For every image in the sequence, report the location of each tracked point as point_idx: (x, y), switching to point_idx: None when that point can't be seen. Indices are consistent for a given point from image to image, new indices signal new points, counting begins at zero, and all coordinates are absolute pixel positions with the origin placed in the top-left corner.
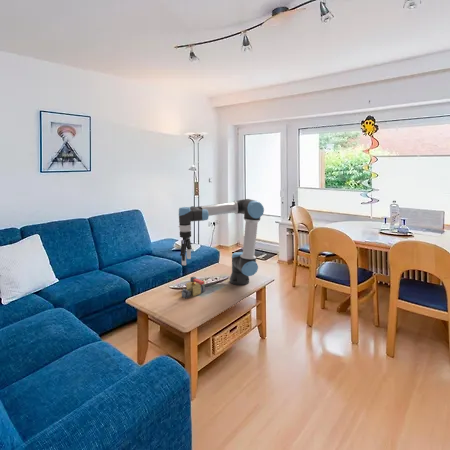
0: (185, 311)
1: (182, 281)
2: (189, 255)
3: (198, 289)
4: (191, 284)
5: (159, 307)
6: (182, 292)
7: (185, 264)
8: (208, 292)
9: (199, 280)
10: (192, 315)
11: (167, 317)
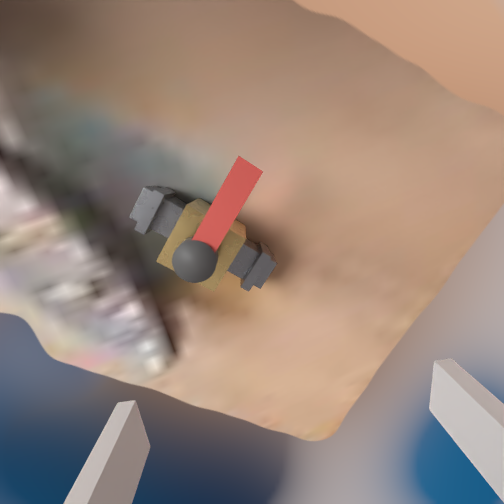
0: (399, 205)
1: (78, 341)
2: (113, 476)
3: (208, 209)
4: (225, 254)
5: (371, 323)
6: (264, 281)
7: (462, 373)
8: (165, 162)
9: (225, 200)
10: (436, 158)
11: (455, 259)
